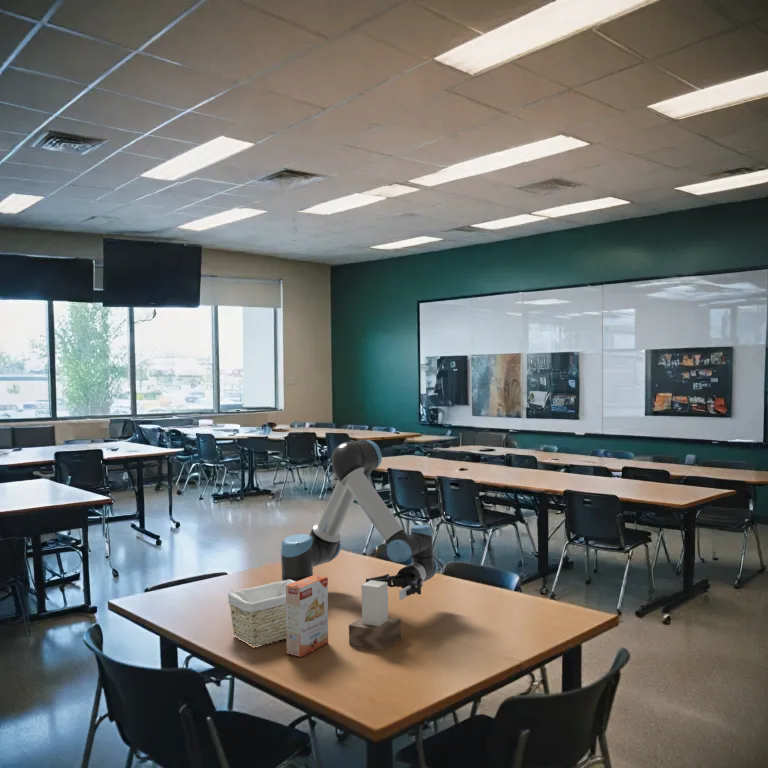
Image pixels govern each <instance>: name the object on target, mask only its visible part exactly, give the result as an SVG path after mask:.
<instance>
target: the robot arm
mask: <svg viewBox="0 0 768 768" xmlns="http://www.w3.org/2000/svg"><path fill="white" fill-rule="evenodd" d="M331 454H332V455H331V465H332V470H333V471H334V474H335V476H336V478H337V481H336V485H335V487H334V489H333V490H332V493H331V495H330V498H329V500H328V502H327V505H326V506H325V509H324V511H323V514H322V515H321V518H320V520H319V522H318V523H316V524H314V525H313V527H312V529H311V531H310V533H309V534H305V533H298V534H292V535H289V536H288V537H285V538H284V539H283V540H282V541H281V549H280V556H281V558H280V559H281V560H280V561H281V563H280V564H281V581H285V580H293V581H296V582H297V581H299V580H302V579H305V578H307V577H310V576H313V575H314V568H315V567H318V566H319V565H323V564H326V563H329V562H331V561H333V560H334V559H336V558H337V557H338V556H339V554H340V552H341V550H342V544H341V538H342V536H341V534H340V531H341V529H342V526H343V525H344V523H345V521H346V518H347V517H348V513H349V511H350V509H351V506H352V505H353V502H354V501H355V500H356V501H357V503H358V505H359V506H360V508H361V509H362V510H363V512H364V513H365V515H366V516H367V517H368V519H369V521H370V522H371V524H372V525H373V526H374V528H375V529H376V531H377V532H378V533H379V535H380V537H381V538H382V539H383V541H384V542H385V544H386V545H387V546H386V554H387V557H388V558H389V560H391V562H393V563H402V562H405V561H408V560H410V559H411V561H412V562H411V563H410V564H408V565H406V566H404V567H402V568H400V569H399V570H398V571H397V574H395V575H390V574H389V573H386V574H384V575H379V576H374V577H370V578H365V583H366V582H368V581H370V580H374V581H381V582H388V587H390V588H395V587H396V588H401V590H398V592H399V596H398V597H399V600H400V601H402V600H404V599H405V598H407V597H409V596H411V595H415V594H417V595H421V594H422V587H423V583H425V582H427V581H428V580H430V579H433V577H435V576H436V574H437V573H438V571H439V564H438V562H437V560H436V559H435V558H434V548H433V546H434V544H433V543H434V541H433V530H432V527H431V525H428V524H415V525H412V526H411V528H410V534H407V533H406V531H405V530H404V529H403V527H402V526H401V524H400V522H399V521H398V520H397V518H396V517H395V516H394V514H393V513H392V512H391V510H390V508H389V507H388V506H387V504H386V503H385V502H384V500H383V499H382V497H381V496H380V495H379V493H378V491H377V490H376V489H375V488H374V486H373V484H372V483H371V481H370V480H369V477H370V475H371V474H372V473H371V472H372V471H374V470H377V468H379V466H380V465H381V463H382V460H383V455H382V453H381V449H380V447H379V445H378V444H377V443H376V442H374V441H372V440H370V439H360V440H354V441H345V442H342V443H339V445H337V446H336V447H335V448H334V450H333V452H332V453H331Z"/></svg>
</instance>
